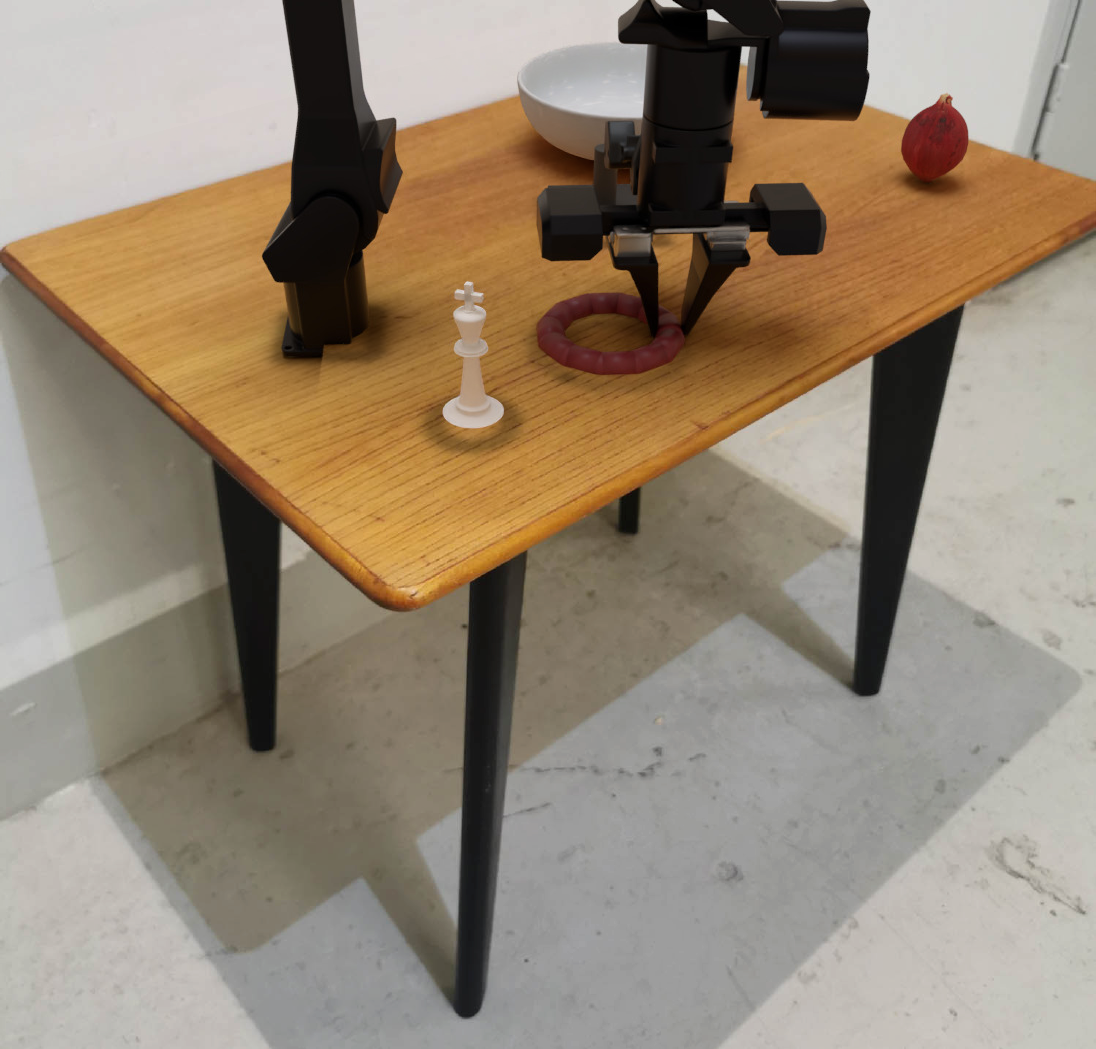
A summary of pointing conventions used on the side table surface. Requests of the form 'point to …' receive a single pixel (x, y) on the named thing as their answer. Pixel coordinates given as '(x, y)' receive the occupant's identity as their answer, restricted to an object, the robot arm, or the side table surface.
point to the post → (606, 183)
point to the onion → (935, 140)
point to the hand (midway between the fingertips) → (668, 333)
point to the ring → (607, 363)
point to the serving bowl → (583, 92)
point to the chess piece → (471, 367)
